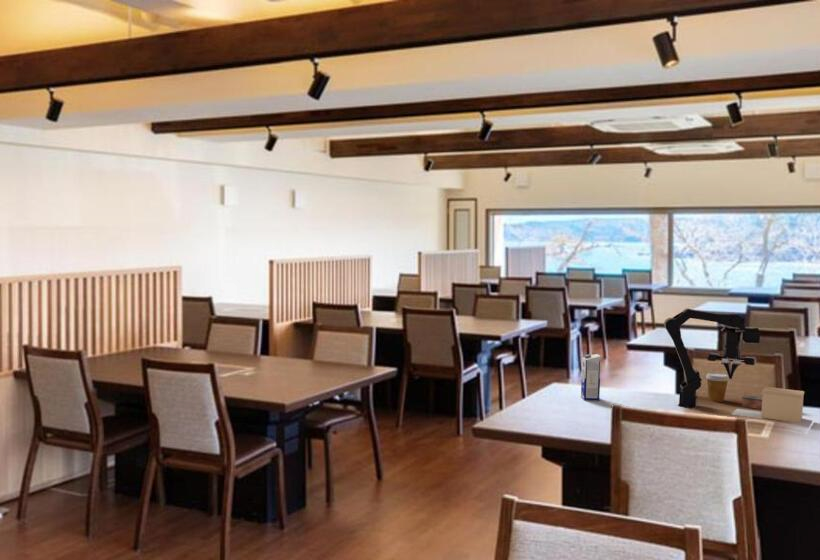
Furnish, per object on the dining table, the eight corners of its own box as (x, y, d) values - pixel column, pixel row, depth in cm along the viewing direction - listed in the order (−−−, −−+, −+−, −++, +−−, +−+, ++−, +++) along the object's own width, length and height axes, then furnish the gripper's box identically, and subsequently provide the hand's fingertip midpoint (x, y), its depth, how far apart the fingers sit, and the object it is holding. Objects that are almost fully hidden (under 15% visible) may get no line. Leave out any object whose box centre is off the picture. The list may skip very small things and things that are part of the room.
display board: (730, 415, 321) (730, 414, 321) (736, 409, 332) (736, 408, 332) (795, 424, 308) (795, 423, 308) (799, 418, 319) (799, 416, 319)
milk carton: (599, 400, 343) (601, 355, 342) (584, 400, 343) (585, 355, 342) (595, 397, 350) (597, 353, 349) (580, 396, 350) (582, 352, 349)
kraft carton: (760, 417, 316) (762, 390, 316) (764, 413, 324) (765, 386, 323) (799, 423, 308) (801, 395, 308) (802, 418, 316) (804, 391, 316)
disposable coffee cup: (729, 400, 350) (730, 374, 349) (725, 404, 342) (726, 377, 341) (707, 398, 355) (708, 372, 354) (702, 401, 347) (704, 375, 346)
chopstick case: (741, 407, 336) (742, 397, 336) (743, 405, 341) (744, 395, 340) (793, 414, 325) (794, 403, 325) (795, 412, 329) (795, 401, 329)
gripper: (759, 342, 333) (757, 378, 334) (713, 338, 343) (712, 373, 344) (754, 345, 323) (753, 382, 324) (707, 341, 334) (706, 377, 335)
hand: (730, 378), depth 332 cm, fingers closed
